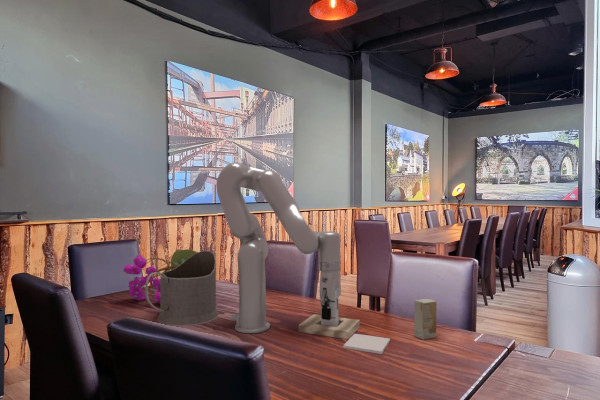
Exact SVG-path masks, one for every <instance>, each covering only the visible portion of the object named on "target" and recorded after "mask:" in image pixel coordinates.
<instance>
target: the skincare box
mask: <svg viewBox="0 0 600 400" xmlns="http://www.w3.org/2000/svg"><path fill="white" fill-rule="evenodd" d="M413 311H414V312H413V313H414V314H413V315H414V317H413V318H414V319H413V321H414V323H413V324H414V325H413V330H414V332H413V336H414V337H416V338H419V339H421V340H427V339H433V338H437V301H436V300H434V299H430V298H423V299H415V300H414V310H413Z"/></svg>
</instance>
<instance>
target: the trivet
mask: <svg viewBox="0 0 600 400" xmlns="http://www.w3.org/2000/svg"><path fill="white" fill-rule="evenodd" d="M390 342H391V338H389V337H382V336H381V337H380V336H374V335H367V334H362V333H361V334H360V333H359V334H358V333H354V334H353V335H352V336H351V337H350V338H349V339H347V341H346V342H345V343H344V344H343V345H342V347H343V349H348V350H354V351H360V352H365V353H373V354H379V355H382V354H383V352H385V350H386V348H387V346H389V343H390Z"/></svg>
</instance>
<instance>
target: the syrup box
mask: <svg viewBox="0 0 600 400" xmlns="http://www.w3.org/2000/svg"><path fill="white" fill-rule="evenodd" d="M325 299H329V298H327V297H326V298H325ZM325 302H327V304H328V301H325ZM330 308H331V319H330V320H325V319H322V308H321V307H320V315H321V325H325V326H333V327H337V326H339V317H340V316H339V314H340V313H339V297H338V298H337V290H336V291H335V300H333V301H331V302H330Z"/></svg>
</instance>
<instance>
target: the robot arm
mask: <svg viewBox="0 0 600 400" xmlns="http://www.w3.org/2000/svg"><path fill="white" fill-rule="evenodd" d="M215 187H216V194H217V198H218V201H219V203H220V205H221V208H222V211H223V215H224V217H225V218H226V222H227V224H228V228H229V230H230V233H231V234H232V236H233V237H235V238H237V239H239V242H240V244H241V245H240V247H239V249H238V252H237V268H238V308H239V309H238V313H232V314H231V316H230V321H235V322H236V323H235V324H234V329H235V331H237V332H239V333H243V334H259V333H263V332H267V331H268V330H269V329H270V328H271V323H270V322H269V321H267V319H266V317H267V315H266V311H267V309H266V306H267V305H266V301H267V300H266V299H267V298H266V297H267V296H266V291H267V290H266V287H267V286H266V285H267V284H266V263H265V262H266V258H267V257H268V255H269V250H270V249H269V245H268V243H267V240H266V236H265V234H264V232H263V228H262V227H261V224H260V221H259V219H258V217H256V215H255V214H254V213H252V212H250V210H249V208H248V205H247V203H246V200H245V197H244V196H243V193H242V191H241V188H244V189H247V190H251V191H256V192H259V193H261V195H262V196H263V197H264V199H265V201H266V202H267V204H268V205H269V206H270V208H271V209H272V211H273V212H274V214H275V215H276V217H277V219H278V220H279V222H280V224H281V225H282V227H283V228H284V230H285V232H286V234H287V235H288V237H289V238H290V240H291V241H292V242H293V244H294V246H295V247H296V248H297V250H298V251H299V252H300V253H301V254H304V255H312V254H314V253H315V252H316V251H318V270H319V272H320V277H319V278H320V279H319V301H320V309H321V308H322V319H325V320H330V319H331V308H330V302H331V301H333V300H335V291H336V290H337V298H338V299H339V297H340V296H341V295H342V287H341V286H342V285H341V235H340V233H339V232H337V231H314V230H312V229H311V228H310V226H309V225H308V223H307V221H306V220H305V217H304V216H303V215H302V213H301V211H300V207H299V205H298V203H297V201H296V200H295V199H294V197H293V196H292V194H291V193H290V191H289V189H288V188H287V187H286V185H285V183H284V182H283V180H282V178H281V176H280V174H278V173H277V172H276V171H274V170H271V169H267V170H264V169H260V168H256V167H252V166H249V165H245V164H243V163H240V162H231V163H229V164H227V165H226V166H225V167H223V168H222V170H221V171H220V172H219V174H218V176H217V179H216V186H215ZM326 297H327V298H329V299H325V298H326ZM325 301H328V304H327V302H325Z"/></svg>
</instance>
